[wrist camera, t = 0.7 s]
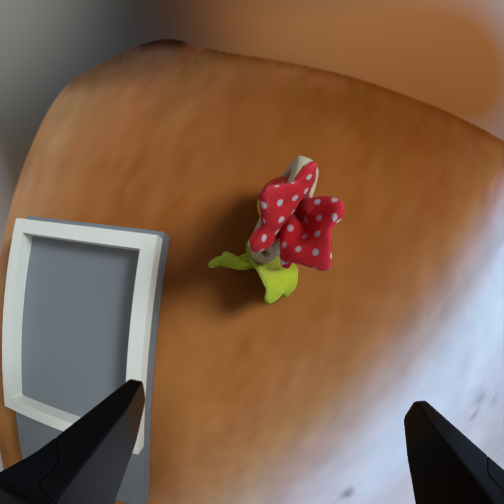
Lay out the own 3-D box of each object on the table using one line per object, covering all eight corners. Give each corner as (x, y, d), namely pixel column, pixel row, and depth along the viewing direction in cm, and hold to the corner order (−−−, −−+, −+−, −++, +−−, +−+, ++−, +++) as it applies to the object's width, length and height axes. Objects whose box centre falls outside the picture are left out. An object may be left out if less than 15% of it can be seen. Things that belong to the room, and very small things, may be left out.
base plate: (149, 495, 20) (140, 517, 16) (33, 454, 20) (14, 468, 16) (169, 237, 23) (158, 227, 19) (40, 221, 23) (17, 211, 19)
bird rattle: (236, 202, 26) (196, 299, 21) (263, 86, 16) (204, 190, 12) (307, 226, 26) (283, 328, 21) (364, 122, 16) (357, 244, 12)
